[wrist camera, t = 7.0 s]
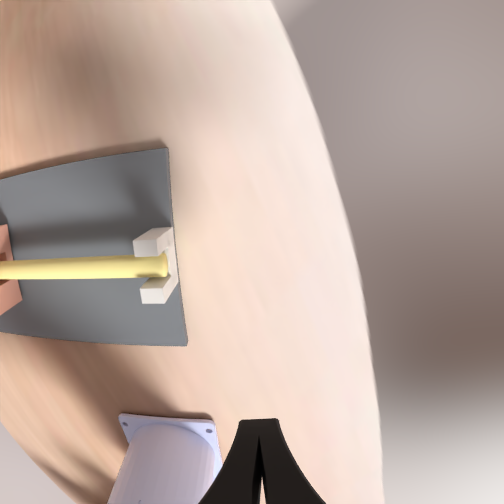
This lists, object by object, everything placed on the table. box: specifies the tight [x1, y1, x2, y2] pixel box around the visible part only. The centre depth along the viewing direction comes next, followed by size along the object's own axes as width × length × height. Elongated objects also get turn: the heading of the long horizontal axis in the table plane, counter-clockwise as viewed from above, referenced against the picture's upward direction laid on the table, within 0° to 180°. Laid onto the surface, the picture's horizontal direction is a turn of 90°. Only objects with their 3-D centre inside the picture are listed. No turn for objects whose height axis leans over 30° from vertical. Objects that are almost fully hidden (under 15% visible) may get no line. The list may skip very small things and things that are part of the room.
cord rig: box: [0, 148, 188, 346], centre depth 16 cm, size 12×25×4 cm, turn 93°
